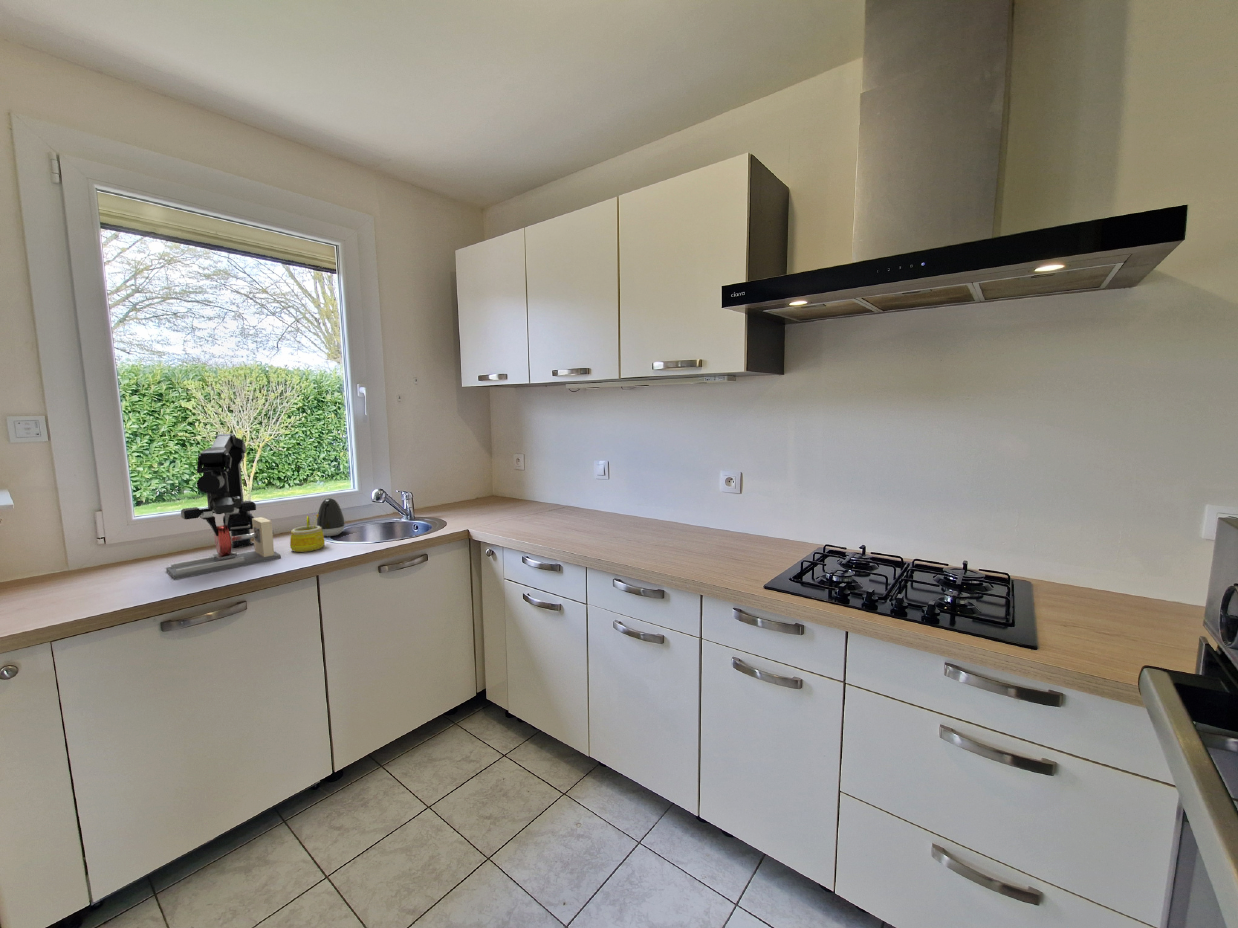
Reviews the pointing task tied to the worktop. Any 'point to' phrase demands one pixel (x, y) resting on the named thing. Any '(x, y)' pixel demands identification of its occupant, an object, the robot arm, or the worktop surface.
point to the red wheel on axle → (227, 543)
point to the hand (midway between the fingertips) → (222, 535)
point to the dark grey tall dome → (330, 518)
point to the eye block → (261, 553)
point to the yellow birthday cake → (307, 537)
